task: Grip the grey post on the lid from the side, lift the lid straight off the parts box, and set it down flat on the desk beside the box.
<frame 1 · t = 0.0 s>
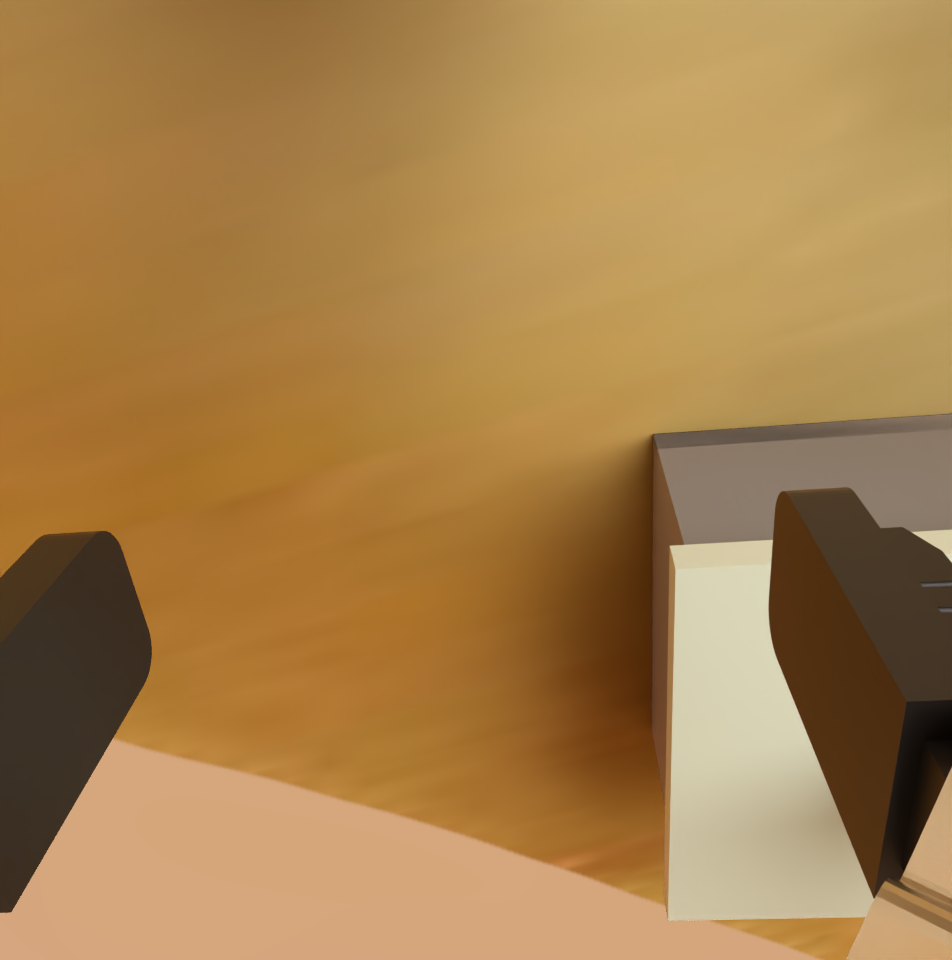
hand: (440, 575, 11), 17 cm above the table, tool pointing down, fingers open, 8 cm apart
parts box: (845, 588, 32), on the table
lid: (921, 735, 26), point 7 cm above the table, touching parts box
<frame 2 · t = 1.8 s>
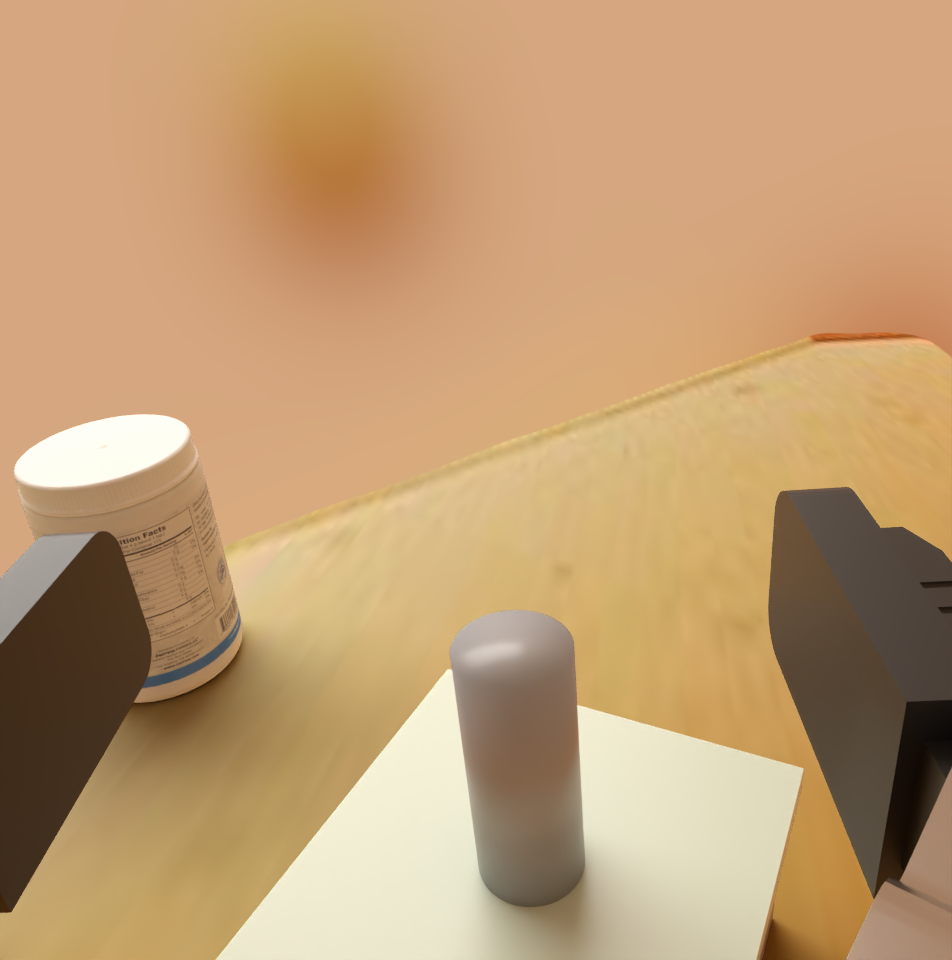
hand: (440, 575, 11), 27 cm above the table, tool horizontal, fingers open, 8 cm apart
supplement tub: (171, 660, 54), on the table
lid: (533, 878, 30), point 7 cm above the table, touching parts box
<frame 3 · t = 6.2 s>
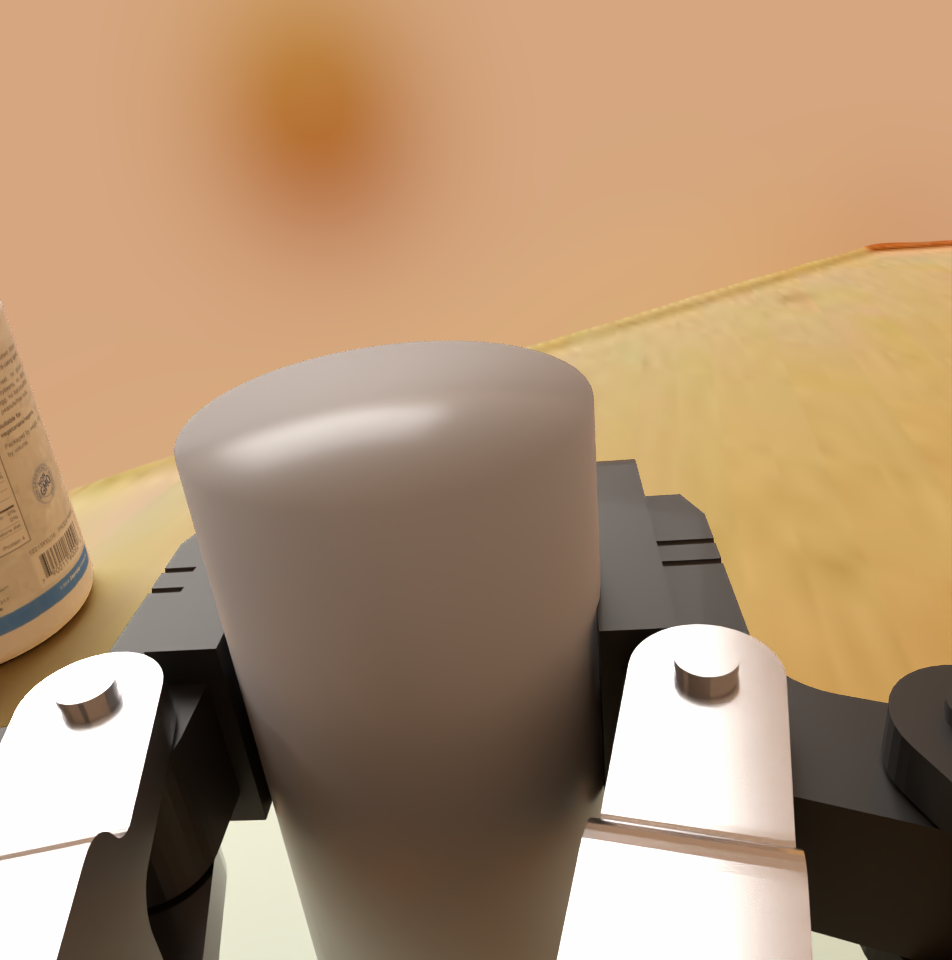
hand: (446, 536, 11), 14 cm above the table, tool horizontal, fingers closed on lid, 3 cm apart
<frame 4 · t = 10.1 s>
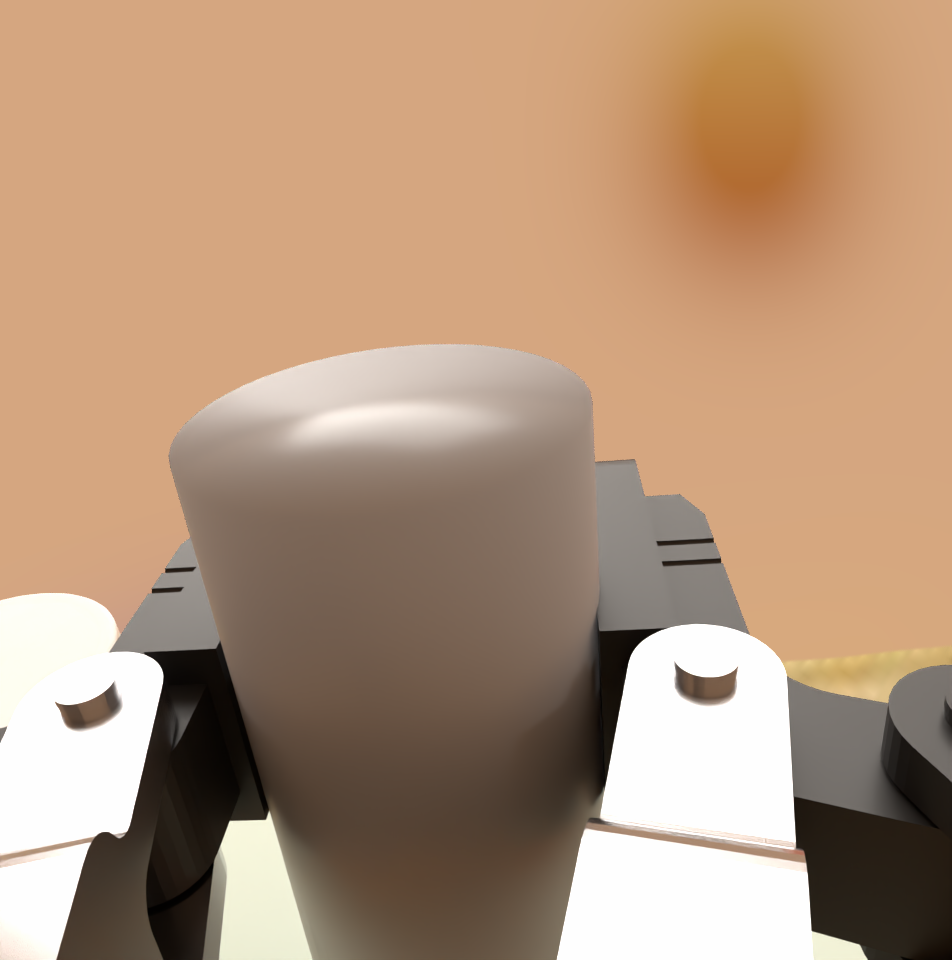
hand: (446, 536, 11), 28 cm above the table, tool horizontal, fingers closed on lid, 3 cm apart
supplement tub: (105, 922, 39), on the table
when the fingers open (8 cm above the table, at t = 13.8 s): lid drops 2 cm, on the table.
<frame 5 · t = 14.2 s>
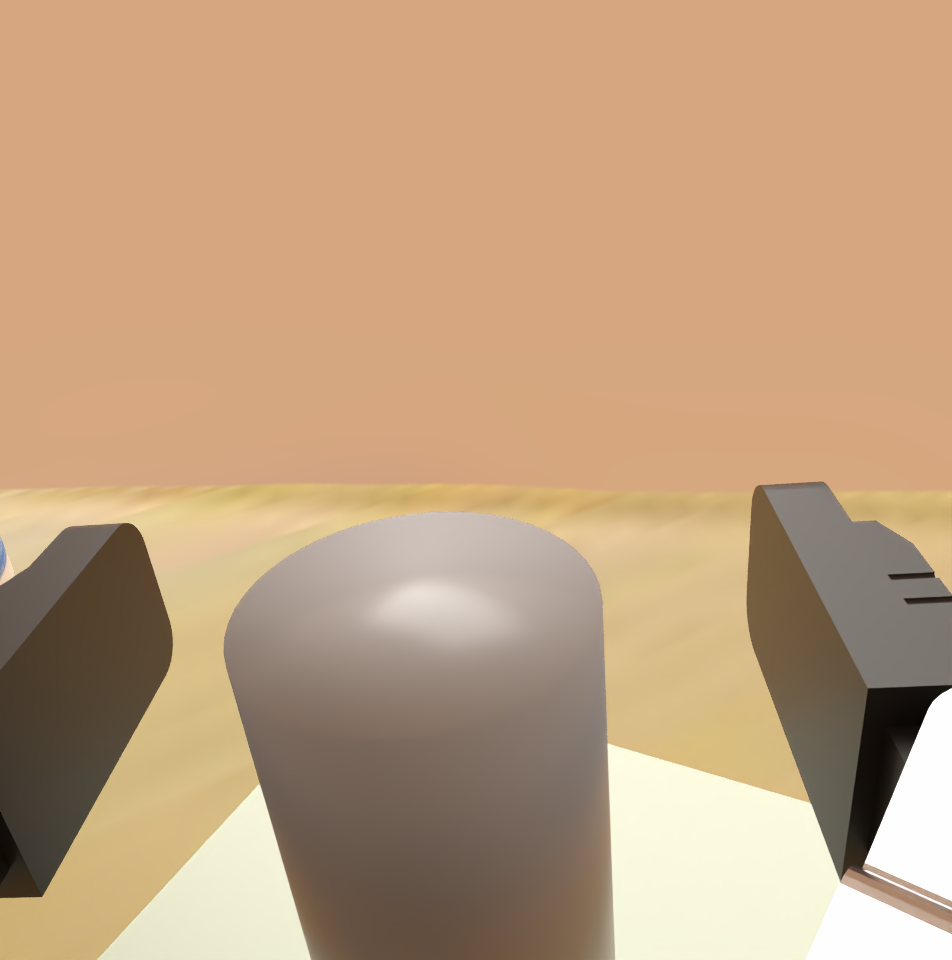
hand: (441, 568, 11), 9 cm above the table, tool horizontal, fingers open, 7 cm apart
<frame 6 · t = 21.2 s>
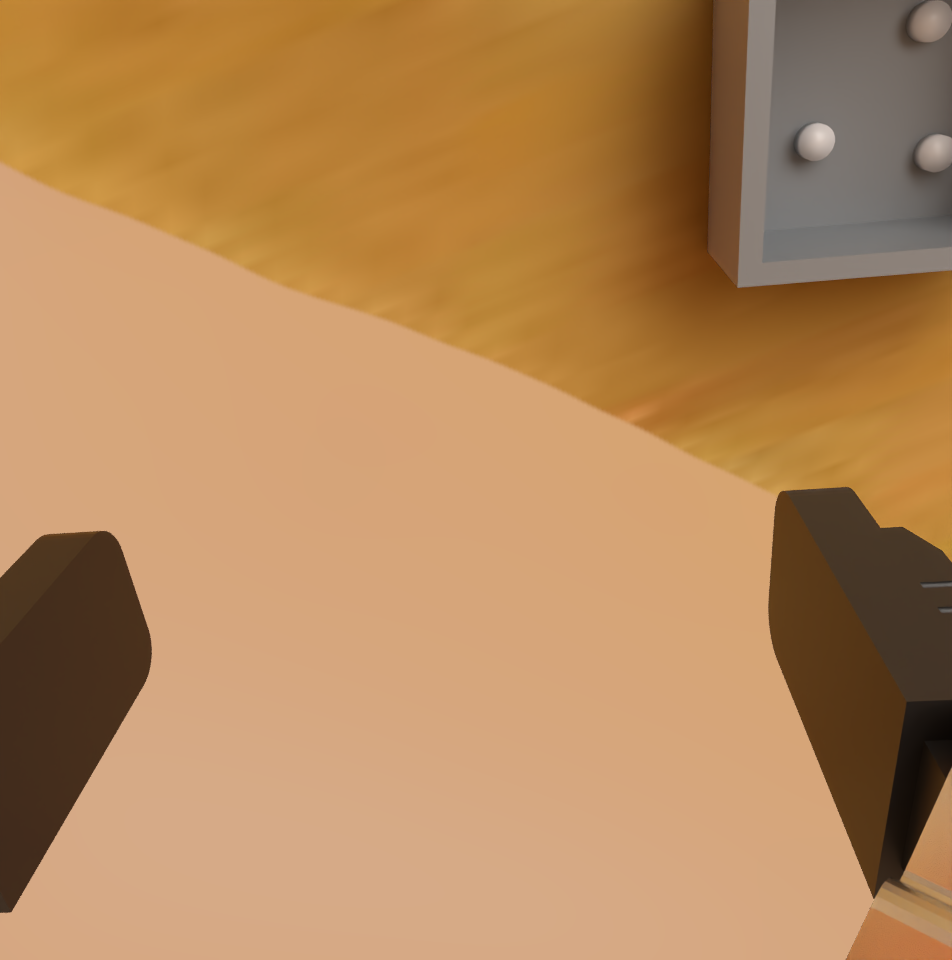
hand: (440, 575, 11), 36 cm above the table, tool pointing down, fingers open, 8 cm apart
parts box: (864, 87, 40), on the table
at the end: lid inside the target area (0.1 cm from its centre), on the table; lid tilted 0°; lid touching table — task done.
